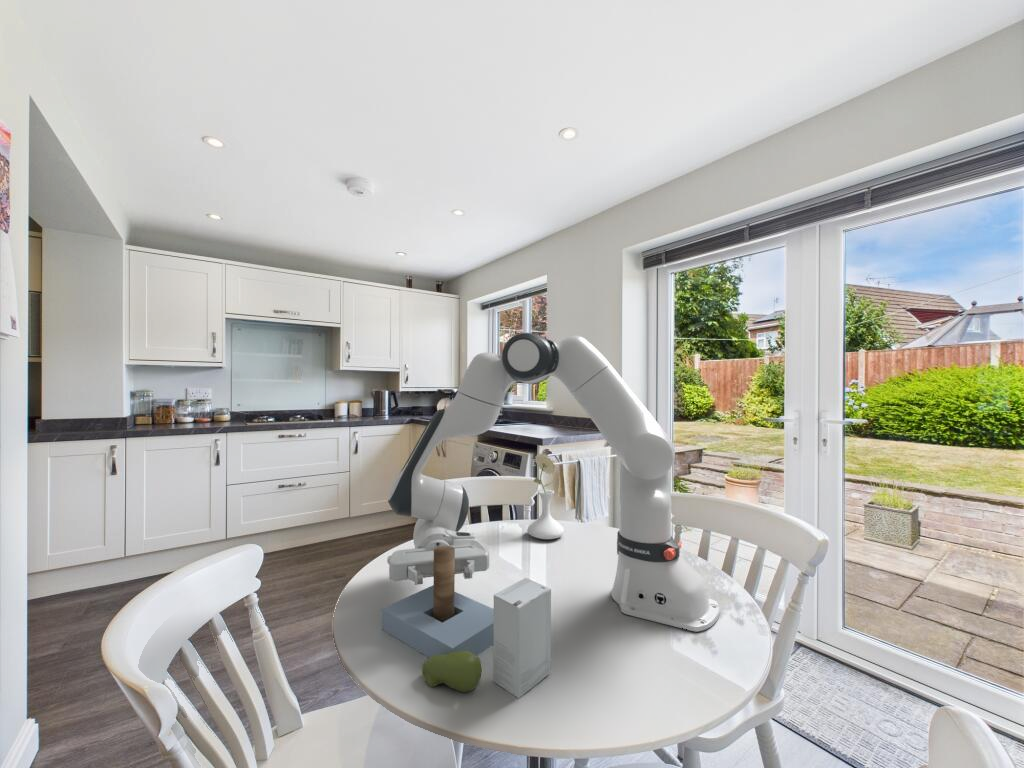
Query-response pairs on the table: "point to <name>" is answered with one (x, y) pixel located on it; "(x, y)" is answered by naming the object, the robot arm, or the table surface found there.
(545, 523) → the flower in vase
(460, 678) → the pear
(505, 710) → the table surface
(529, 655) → the skincare box
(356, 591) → the table surface
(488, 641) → the socket board
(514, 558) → the table surface
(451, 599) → the peg
